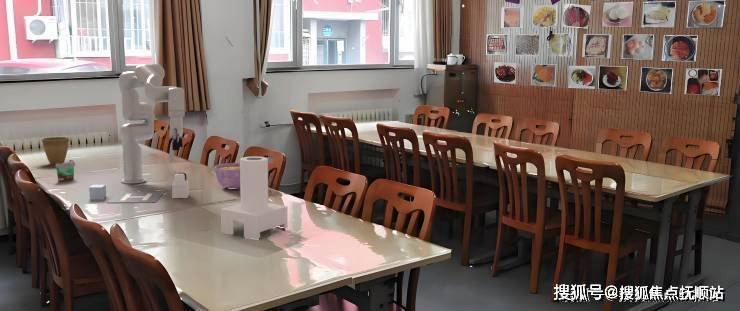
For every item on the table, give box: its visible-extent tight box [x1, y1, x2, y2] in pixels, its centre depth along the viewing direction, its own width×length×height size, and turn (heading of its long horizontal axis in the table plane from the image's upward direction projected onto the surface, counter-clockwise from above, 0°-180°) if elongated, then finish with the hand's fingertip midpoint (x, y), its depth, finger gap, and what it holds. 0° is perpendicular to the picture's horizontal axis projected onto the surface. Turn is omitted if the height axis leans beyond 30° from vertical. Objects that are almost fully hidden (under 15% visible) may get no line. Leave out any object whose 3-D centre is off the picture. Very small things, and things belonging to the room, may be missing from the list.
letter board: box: [106, 191, 164, 204], centre depth 320 cm, size 22×22×1 cm
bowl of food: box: [213, 162, 240, 189], centre depth 345 cm, size 20×20×12 cm
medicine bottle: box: [171, 172, 190, 200], centre depth 322 cm, size 7×7×12 cm
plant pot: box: [41, 136, 70, 166], centre depth 400 cm, size 15×15×16 cm
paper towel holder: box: [220, 156, 288, 239], centre depth 265 cm, size 19×19×30 cm
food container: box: [55, 159, 76, 183], centre depth 356 cm, size 12×6×10 cm, turn 168°
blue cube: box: [88, 184, 107, 200], centre depth 318 cm, size 6×6×6 cm
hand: (177, 148), depth 319 cm, fingers open, 9 cm apart
